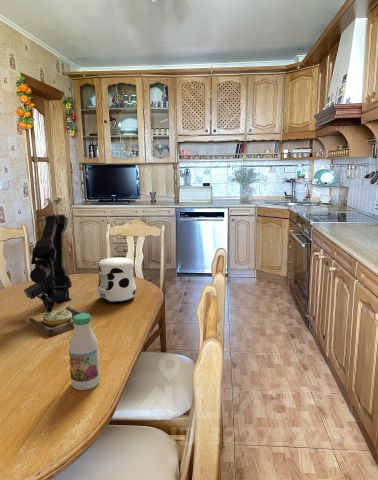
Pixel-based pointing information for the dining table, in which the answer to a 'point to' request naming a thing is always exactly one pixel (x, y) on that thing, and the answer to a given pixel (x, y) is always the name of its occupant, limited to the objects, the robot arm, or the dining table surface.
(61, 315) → the decorated donut
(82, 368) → the milk bottle
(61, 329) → the u-shaped brown rail
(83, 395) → the dining table surface
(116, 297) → the milk container
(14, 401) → the dining table surface
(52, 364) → the dining table surface
